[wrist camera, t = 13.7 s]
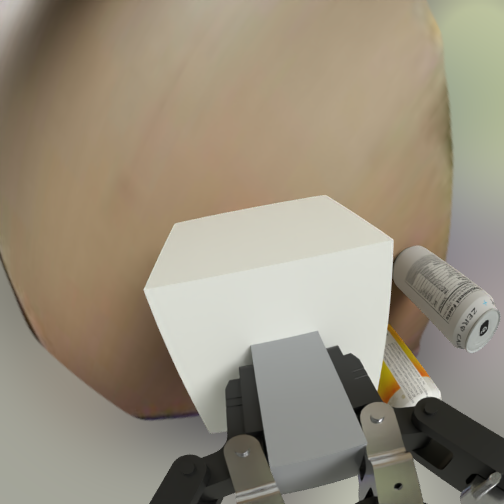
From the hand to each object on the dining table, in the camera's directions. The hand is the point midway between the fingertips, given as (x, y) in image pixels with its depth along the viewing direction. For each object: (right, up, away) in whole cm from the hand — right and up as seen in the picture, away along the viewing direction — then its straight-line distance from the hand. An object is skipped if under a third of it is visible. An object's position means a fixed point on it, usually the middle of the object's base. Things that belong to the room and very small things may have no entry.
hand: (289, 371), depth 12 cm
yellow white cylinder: (+15, -6, +25) cm, 30 cm away
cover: (-1, +4, +9) cm, 10 cm away
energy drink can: (+18, +4, +21) cm, 28 cm away
